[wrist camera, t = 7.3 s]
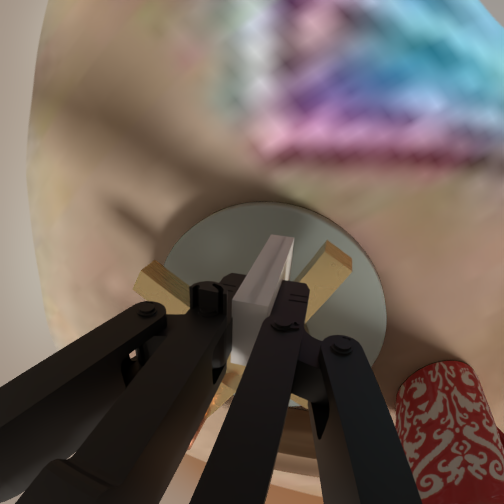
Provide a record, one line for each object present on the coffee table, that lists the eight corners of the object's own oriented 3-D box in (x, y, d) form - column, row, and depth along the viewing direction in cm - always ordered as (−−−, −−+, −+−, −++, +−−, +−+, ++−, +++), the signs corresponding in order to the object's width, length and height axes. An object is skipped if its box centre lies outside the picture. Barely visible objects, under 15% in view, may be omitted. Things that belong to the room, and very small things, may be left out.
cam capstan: (224, 153, 18) (161, 170, 12) (436, 311, 18) (461, 386, 12) (132, 328, 25) (83, 378, 19) (288, 432, 25) (269, 495, 19)
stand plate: (162, 192, 22) (150, 197, 20) (407, 219, 18) (411, 226, 16) (178, 369, 28) (170, 380, 26) (356, 406, 24) (355, 419, 23)
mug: (365, 414, 24) (349, 558, 12) (420, 337, 20) (446, 510, 8) (470, 436, 22) (484, 553, 10) (528, 371, 18) (574, 496, 6)
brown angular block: (262, 402, 26) (246, 445, 22) (352, 417, 24) (347, 463, 20) (260, 429, 28) (245, 469, 24) (341, 443, 26) (335, 486, 22)
